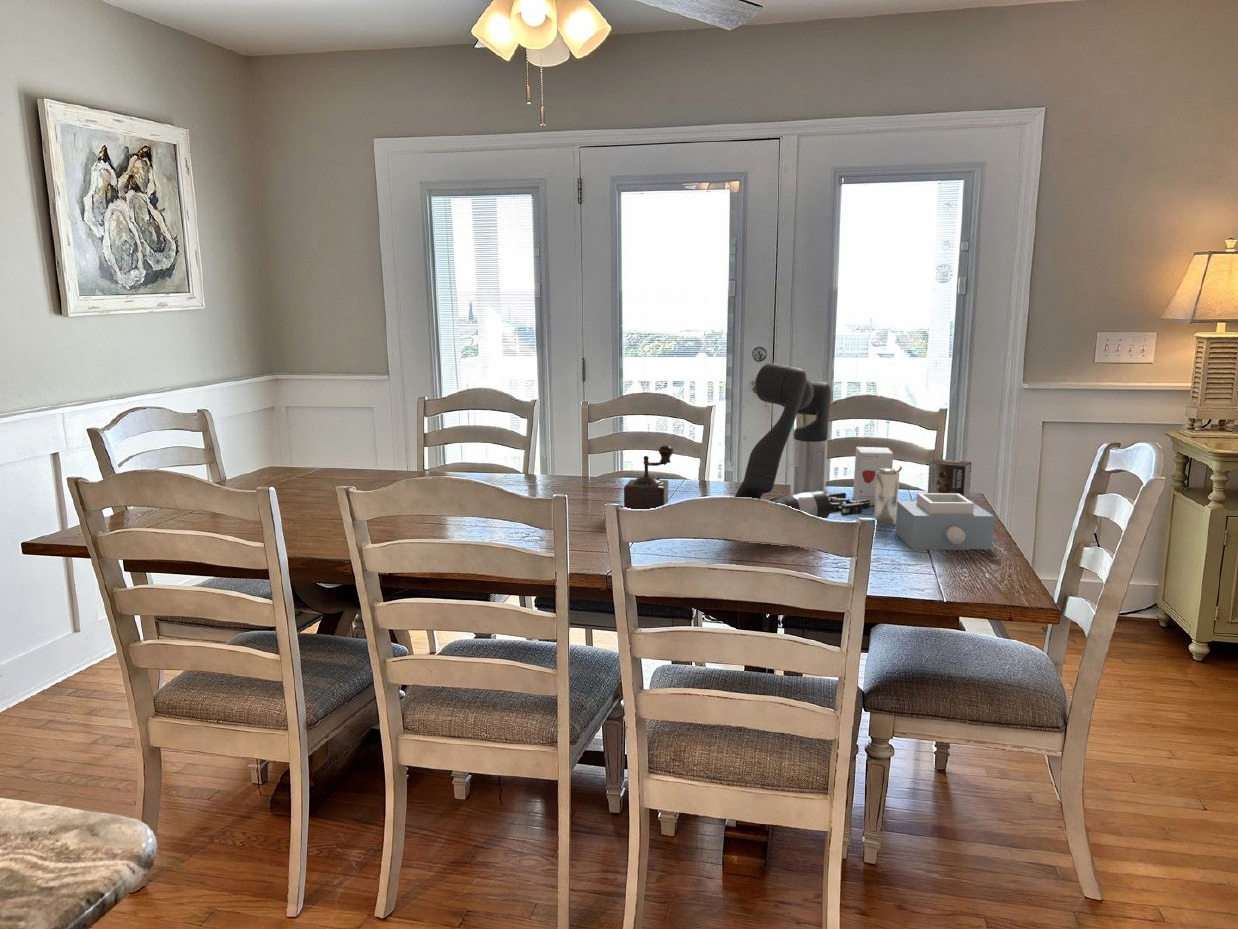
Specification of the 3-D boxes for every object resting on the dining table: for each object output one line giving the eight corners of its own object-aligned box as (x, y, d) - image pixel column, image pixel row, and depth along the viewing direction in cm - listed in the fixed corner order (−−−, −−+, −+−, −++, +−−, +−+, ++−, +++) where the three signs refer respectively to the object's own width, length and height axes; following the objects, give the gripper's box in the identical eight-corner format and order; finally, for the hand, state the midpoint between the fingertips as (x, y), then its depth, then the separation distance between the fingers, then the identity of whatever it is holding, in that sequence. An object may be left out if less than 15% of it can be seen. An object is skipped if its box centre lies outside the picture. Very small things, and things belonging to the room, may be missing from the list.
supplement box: (856, 505, 252) (859, 452, 249) (852, 498, 260) (855, 446, 257) (890, 506, 251) (893, 452, 248) (885, 499, 259) (888, 446, 256)
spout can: (884, 526, 230) (888, 470, 227) (868, 521, 235) (871, 466, 232) (906, 522, 234) (909, 467, 231) (889, 517, 238) (893, 464, 236)
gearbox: (916, 553, 207) (919, 508, 205) (895, 533, 224) (898, 491, 222) (996, 554, 207) (1000, 508, 205) (969, 533, 224) (972, 491, 222)
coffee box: (967, 524, 233) (972, 461, 229) (961, 529, 227) (966, 465, 224) (931, 519, 238) (935, 457, 234) (924, 524, 232) (928, 461, 229)
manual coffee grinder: (665, 525, 232) (666, 454, 228) (622, 522, 234) (623, 453, 230) (673, 510, 247) (674, 444, 243) (633, 508, 249) (633, 442, 245)
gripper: (826, 498, 213) (878, 491, 221) (787, 486, 226) (837, 480, 233) (825, 529, 215) (876, 521, 223) (786, 516, 227) (836, 508, 235)
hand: (856, 500), depth 228 cm, fingers open, 8 cm apart
